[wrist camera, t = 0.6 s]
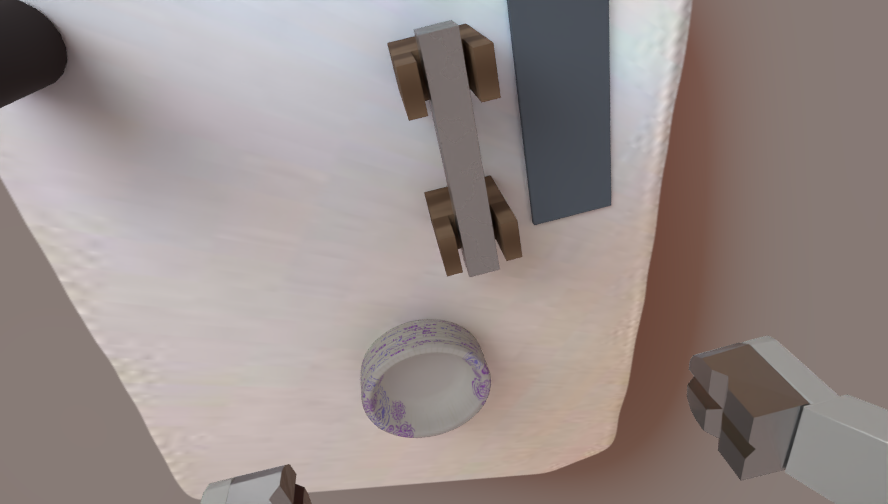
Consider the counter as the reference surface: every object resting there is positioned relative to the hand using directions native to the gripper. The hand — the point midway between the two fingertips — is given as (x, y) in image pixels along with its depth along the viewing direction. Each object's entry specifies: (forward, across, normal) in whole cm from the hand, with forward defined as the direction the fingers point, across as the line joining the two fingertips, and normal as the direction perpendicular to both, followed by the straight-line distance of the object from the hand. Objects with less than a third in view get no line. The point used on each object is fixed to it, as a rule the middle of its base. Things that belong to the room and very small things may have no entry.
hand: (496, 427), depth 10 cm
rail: (+35, -4, +8) cm, 36 cm away
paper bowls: (+42, +5, +35) cm, 55 cm away
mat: (+41, -16, +8) cm, 45 cm away
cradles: (+41, -4, +8) cm, 42 cm away
